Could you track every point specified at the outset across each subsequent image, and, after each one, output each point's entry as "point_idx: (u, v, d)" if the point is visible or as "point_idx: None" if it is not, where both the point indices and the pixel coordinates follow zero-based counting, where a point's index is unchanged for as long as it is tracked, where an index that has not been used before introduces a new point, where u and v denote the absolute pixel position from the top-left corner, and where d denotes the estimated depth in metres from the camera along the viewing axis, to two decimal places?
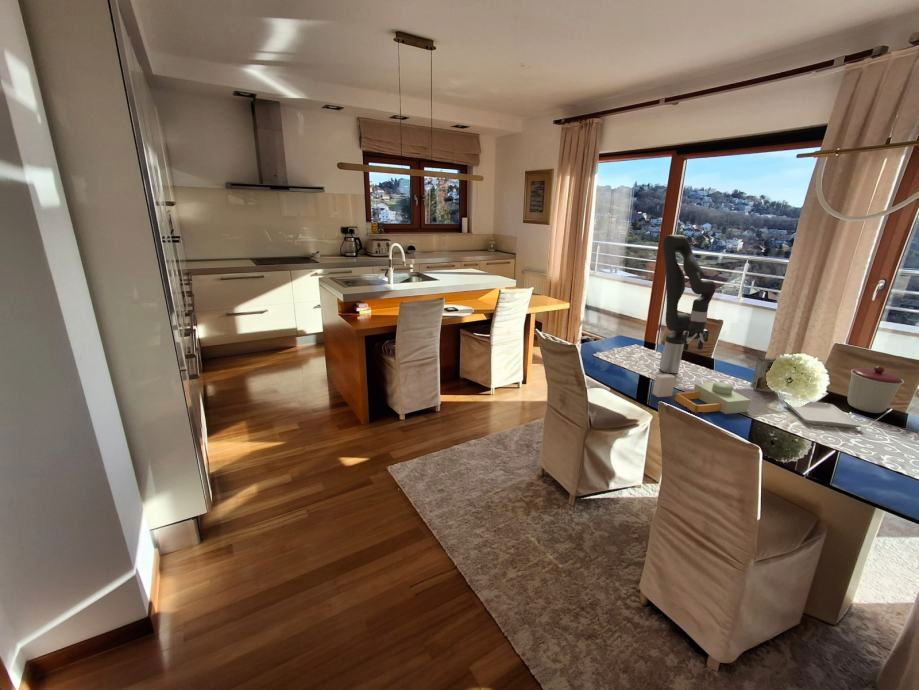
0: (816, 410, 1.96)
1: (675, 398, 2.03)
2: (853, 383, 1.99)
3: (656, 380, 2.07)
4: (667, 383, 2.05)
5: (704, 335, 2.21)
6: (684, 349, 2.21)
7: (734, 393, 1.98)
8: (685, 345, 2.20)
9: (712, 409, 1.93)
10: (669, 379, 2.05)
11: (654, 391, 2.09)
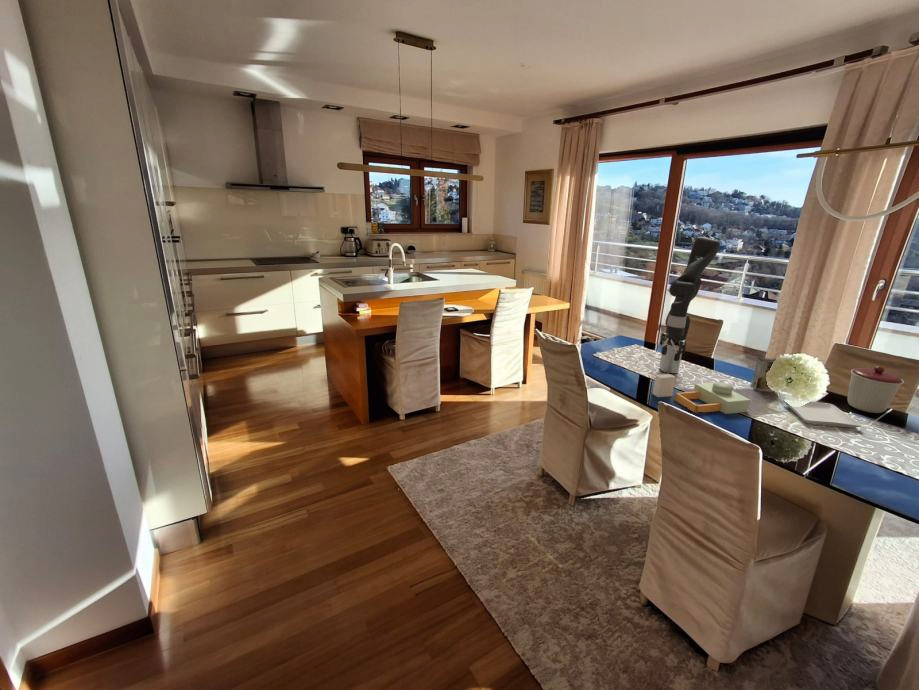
0: (816, 410, 1.96)
1: (675, 398, 2.03)
2: (853, 383, 1.99)
3: (656, 380, 2.07)
4: (667, 383, 2.05)
5: (664, 339, 2.06)
6: (676, 360, 1.99)
7: (734, 393, 1.98)
8: (679, 355, 1.98)
9: (712, 409, 1.93)
10: (669, 379, 2.05)
11: (654, 391, 2.09)
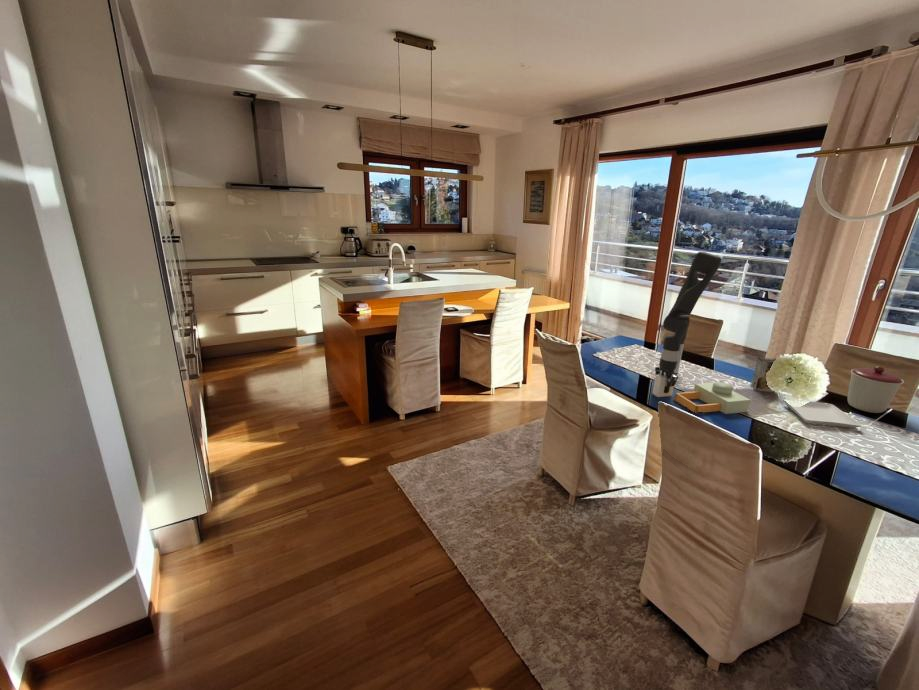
0: (816, 410, 1.96)
1: (675, 398, 2.03)
2: (853, 383, 1.99)
3: (656, 380, 2.07)
4: None
5: (659, 372, 2.11)
6: (665, 392, 2.06)
7: (734, 393, 1.98)
8: (669, 388, 2.05)
9: (712, 409, 1.93)
10: (669, 379, 2.05)
11: (654, 391, 2.09)
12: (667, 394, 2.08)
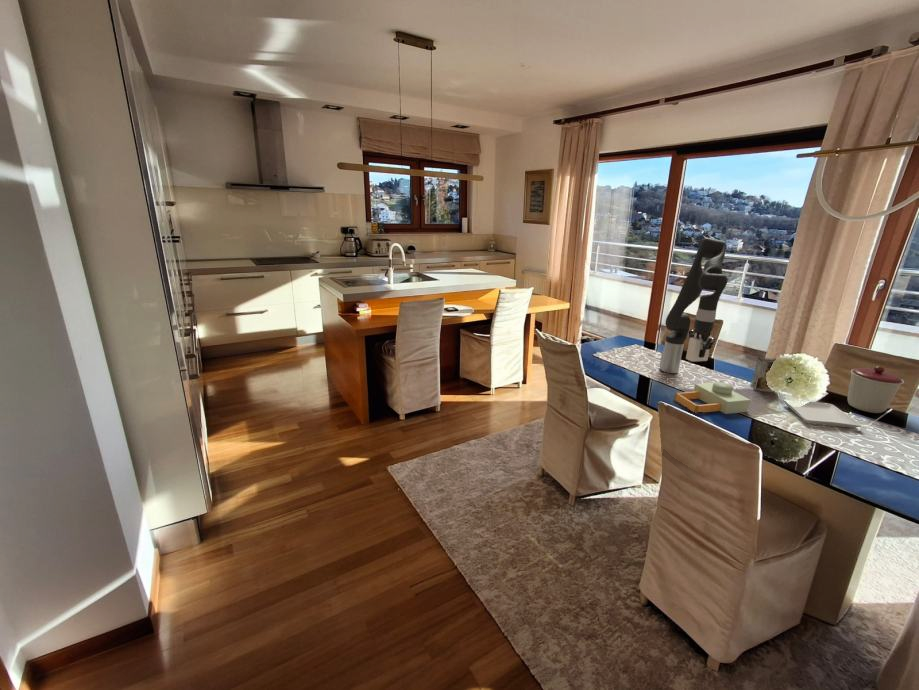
0: (816, 410, 1.96)
1: (675, 398, 2.03)
2: (853, 383, 1.99)
3: (690, 343, 1.93)
4: None
5: (693, 336, 1.96)
6: (701, 356, 1.92)
7: (734, 393, 1.98)
8: (705, 351, 1.91)
9: (712, 409, 1.93)
10: (704, 342, 1.91)
11: (688, 355, 1.94)
12: (702, 359, 1.93)
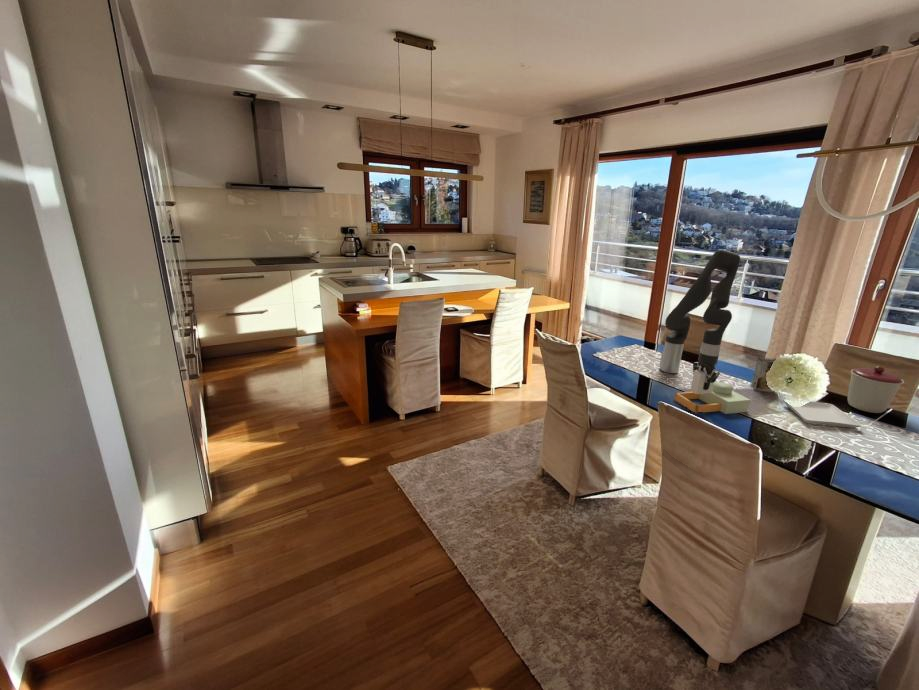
0: (816, 410, 1.96)
1: (675, 398, 2.03)
2: (853, 383, 1.99)
3: (695, 376, 1.95)
4: None
5: (697, 368, 1.99)
6: (705, 389, 1.94)
7: (734, 393, 1.98)
8: (709, 384, 1.93)
9: (712, 409, 1.93)
10: (708, 375, 1.93)
11: (692, 388, 1.97)
12: (706, 391, 1.95)
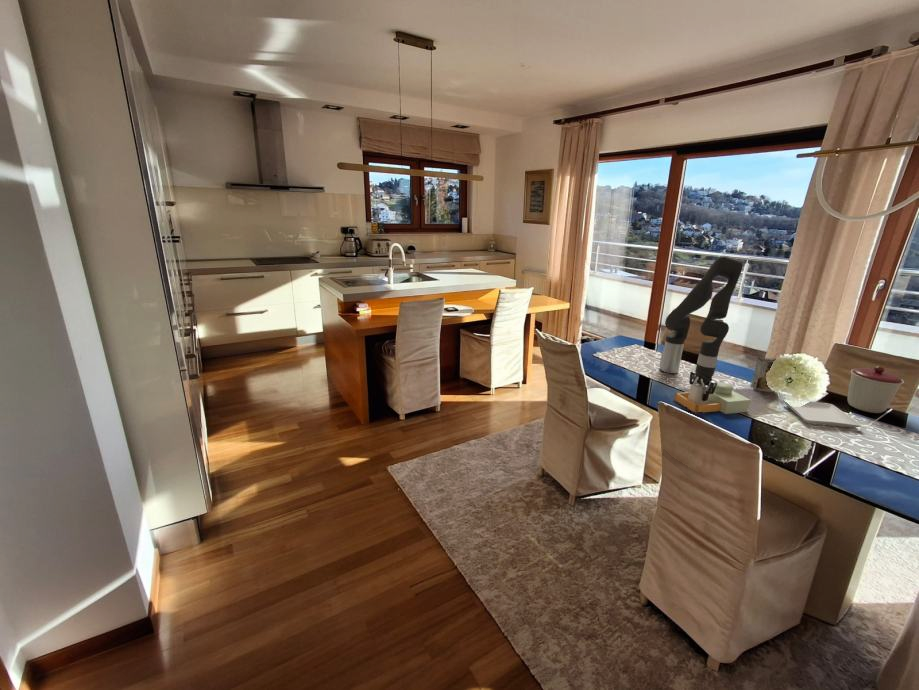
0: (816, 410, 1.96)
1: (675, 398, 2.03)
2: (853, 383, 1.99)
3: (691, 390, 1.97)
4: None
5: (693, 378, 2.01)
6: (704, 400, 1.95)
7: (734, 393, 1.98)
8: (708, 395, 1.93)
9: (712, 409, 1.93)
10: None
11: None
12: None
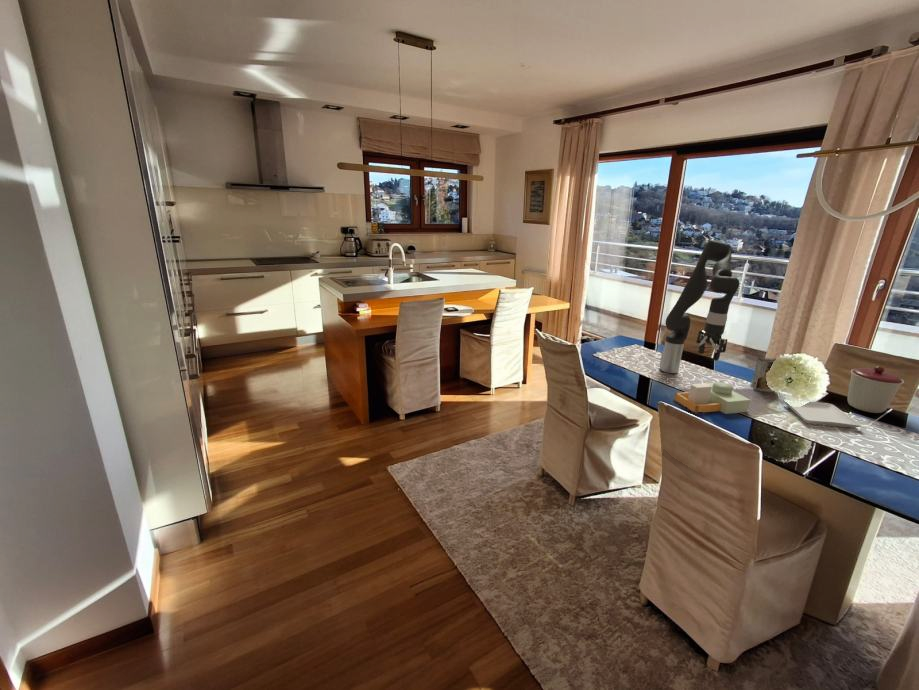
0: (816, 410, 1.96)
1: (675, 398, 2.03)
2: (853, 383, 1.99)
3: (691, 390, 1.97)
4: (703, 393, 1.95)
5: (701, 337, 1.95)
6: (715, 359, 1.87)
7: (734, 393, 1.98)
8: (719, 354, 1.86)
9: (712, 409, 1.93)
10: (705, 389, 1.95)
11: None
12: None
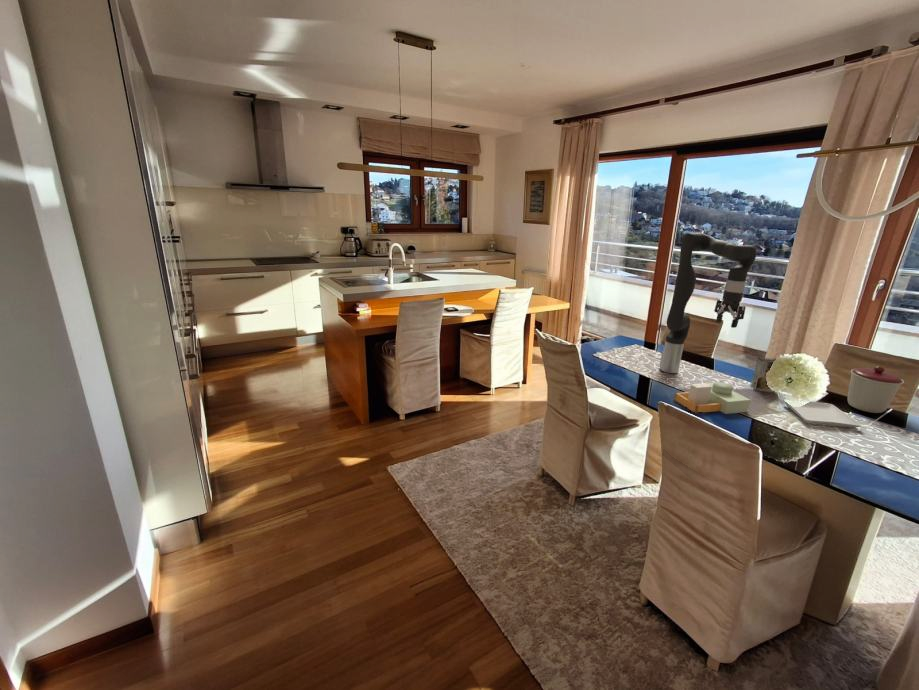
0: (816, 410, 1.96)
1: (675, 398, 2.03)
2: (853, 383, 1.99)
3: (691, 390, 1.97)
4: (702, 393, 1.95)
5: (719, 306, 2.01)
6: (733, 326, 1.94)
7: (734, 393, 1.98)
8: (737, 321, 1.93)
9: (712, 409, 1.93)
10: (705, 389, 1.95)
11: None
12: None
